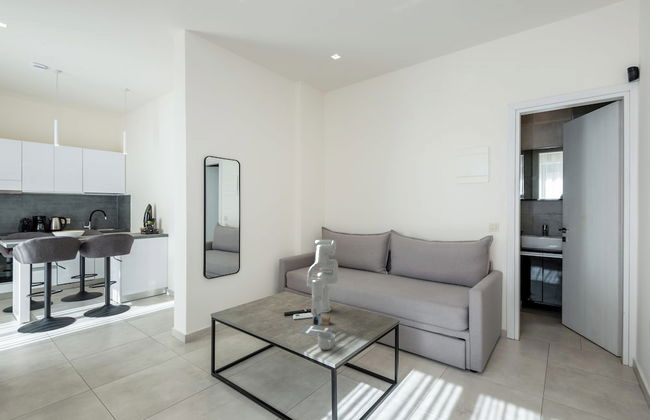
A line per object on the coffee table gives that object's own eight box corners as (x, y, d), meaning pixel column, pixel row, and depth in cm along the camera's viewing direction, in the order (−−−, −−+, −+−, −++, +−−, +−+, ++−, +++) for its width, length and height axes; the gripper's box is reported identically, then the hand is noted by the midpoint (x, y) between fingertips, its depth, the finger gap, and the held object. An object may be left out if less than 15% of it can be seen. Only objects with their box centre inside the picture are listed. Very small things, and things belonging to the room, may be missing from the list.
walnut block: (318, 321, 233) (318, 314, 232) (330, 322, 230) (330, 316, 230) (316, 323, 228) (316, 317, 228) (328, 325, 225) (328, 318, 225)
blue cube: (314, 321, 218) (314, 314, 218) (321, 322, 217) (321, 315, 217) (312, 324, 213) (312, 317, 213) (319, 325, 212) (319, 318, 212)
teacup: (317, 343, 196) (317, 331, 196) (334, 343, 197) (334, 330, 197) (318, 354, 182) (318, 341, 182) (336, 354, 183) (336, 340, 183)
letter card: (306, 324, 225) (306, 324, 225) (334, 328, 219) (334, 328, 219) (299, 332, 212) (299, 332, 212) (328, 336, 206) (328, 336, 206)
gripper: (316, 293, 224) (315, 318, 224) (307, 300, 208) (307, 327, 208) (325, 294, 222) (325, 319, 222) (318, 301, 205) (318, 328, 206)
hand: (317, 322), depth 215 cm, fingers closed on blue cube, 5 cm apart
